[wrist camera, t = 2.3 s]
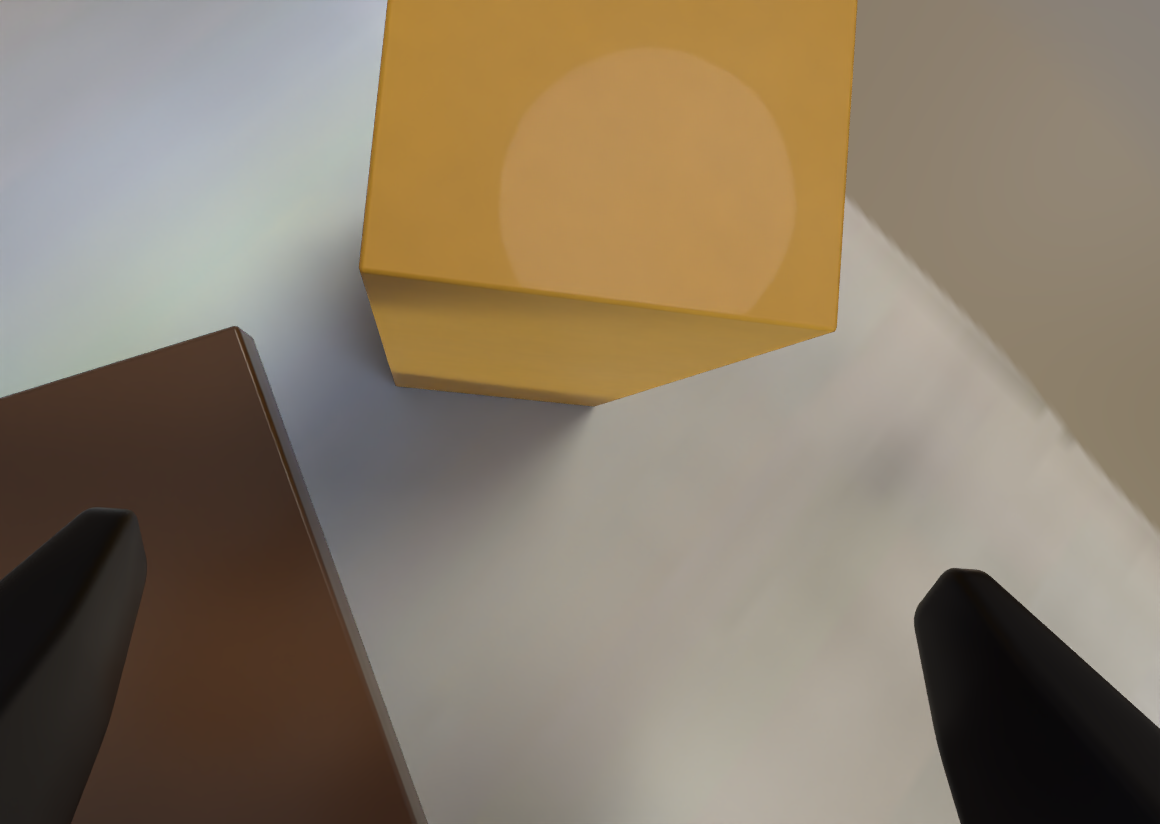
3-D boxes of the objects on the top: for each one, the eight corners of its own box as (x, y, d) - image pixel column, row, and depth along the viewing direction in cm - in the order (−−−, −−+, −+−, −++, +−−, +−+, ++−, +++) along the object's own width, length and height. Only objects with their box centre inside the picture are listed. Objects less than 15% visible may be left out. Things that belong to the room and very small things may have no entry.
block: (595, 406, 21) (838, 332, 9) (394, 386, 20) (356, 272, 8) (612, 214, 22) (866, -112, 9) (415, 185, 21) (410, -217, 8)
